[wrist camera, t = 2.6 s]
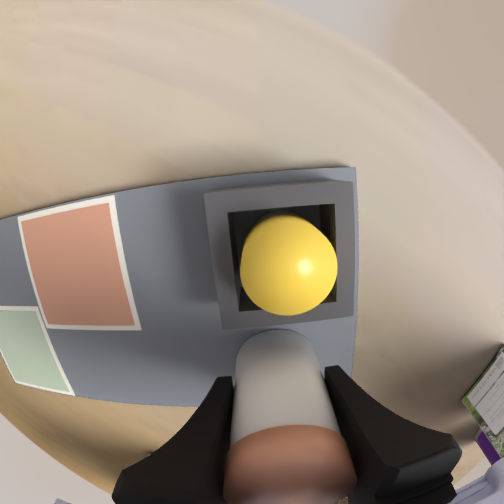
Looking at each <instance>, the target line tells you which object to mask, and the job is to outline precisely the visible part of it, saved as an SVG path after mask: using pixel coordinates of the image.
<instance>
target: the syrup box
mask: <svg viewBox="0 0 504 504" xmlns="http://www.w3.org/2000/svg"><path fill="white" fill-rule="evenodd" d="M462 402H463V404H464V405H465V407H466V408H467V409H468V411H469V412H470V413H471V415H472V416H473V418H474V419H475V420H476V422H477V423H478V425H479V426H480V428H481V429H482V431H483V432H484V433H485V435H486V436H487V438H488V439H489V441H490V442H491V443H492V445H493V446H494V448H495V450H496V451H497V452H498V454H499V456H500V457H501V458H503V457H504V345H503V346H502V348H501V349H500V351H499V352H498V354H497V355H496V356H495V358H494V359H493V361H492V362H491V363H490V365H489V366H488V368H487V369H486V370H485V371H484V373H483V374H482V375H481V377H480V378H479V379H478V381H477V382H476V383H475V384H474V385H473V387H472V388H471V389H470V390H469V392H468V393H467V394H466V395H465V396H464V398H463V399H462Z"/></svg>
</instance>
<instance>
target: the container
mask: <svg viewBox="0 0 504 504" xmlns="http://www.w3.org/2000/svg"><path fill="white" fill-rule="evenodd" d="M475 440H476V442H477V443H478V445H479V446H480V448H481V449H482V451H483V453H484V454H485V456H486V457H487V459H488V460H489V462H490V463H491V465H493V464H494V463H495V462H497V461H498V460H500V459H501V457H500V456H499V454H498V452H497V451H496V450H495V448H494V446H493V445H492V443H491V442H490V441H489V439H488V438H487V436H486V435H485V433H484V432H483V431H482V429H481V428H480V429H479V430H478V431H477V433H476V435H475Z"/></svg>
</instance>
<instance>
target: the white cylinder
mask: <svg viewBox="0 0 504 504" xmlns="http://www.w3.org/2000/svg"><path fill="white" fill-rule="evenodd" d="M356 483H357V476H356V472H355V469H354V466H353V462H352V459H351V455H350V452H349V449H348V445H347V443H346V440H345V439H344V438H343V436H341V432H340V429H339V426H338V422H337V419H336V416H335V412H334V409H333V406H332V403H331V399H330V396H329V393H328V390H327V387H326V383H325V380H324V377H323V374H322V371H321V368H320V364H319V361H318V358H317V355H316V352H315V349H314V347H313V345H312V344H311V343H310V341H309V340H308V339H306V338H305V337H304V336H302V335H301V334H298V333H296V332H293V331H289V330H281V329H278V330H269V331H265V332H262V333H259V334H257V335H255V336H253V337H251V338H250V339H248V340H247V341H246V342H245V343H244V344H243V345H242V347H241V348H240V350H239V352H238V354H237V358H236V369H235V381H234V394H233V407H232V421H231V434H230V447H229V450H228V452H227V455H226V461H225V474H224V486H223V497H224V499H225V501H226V502H227V503H228V504H334V503H336V502H338V501H340V500H341V499H343V498H344V497H345V496H347V495H348V494H349V493H350V492H351V491H352V490H353V489H354V487H355V485H356Z"/></svg>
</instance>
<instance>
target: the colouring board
mask: <svg viewBox="0 0 504 504" xmlns="http://www.w3.org/2000/svg"><path fill="white" fill-rule="evenodd" d="M318 180H342V181H350V182H353V191H354V214H355V291H354V314H353V316H350V317H343V318H336V319H328V320H320V321H312V322H304V323H295V324H285V325H275V326H264V327H253V328H240V329H225V330H222V324H221V318H220V311H219V305H218V298H217V292H216V285H215V278H214V271H213V264H212V257H211V249H210V242H209V234H208V226H207V218H206V210H205V201H204V193H207V192H209V191H211V190H214V189H223V188H232V187H242V186H252V185H263V184H275V183H288V182H302V181H318ZM275 211H289V212H293V213H296V214H299V215H300V216H302V217H304V218H305V219H306V220H308V221H309V222H310V223H311V224H312V225H313V226H314V227H316V228H317V229H318V230H319V231H320V232H321V220H320V205H306V206H293V207H281V208H269V209H258V210H247V211H237V212H233V219H234V228H235V237H236V246H237V255H238V264H239V273H240V266H241V258H242V250H243V242H244V238H245V236H246V233H247V231H248V229H249V228H250V227H251V225H252V224H253V223H254V222H255V221H256V220H257V219H259V218H260V217H262V216H264V215H266V214H268V213H271V212H275ZM358 266H359V232H358V198H357V180H356V167H340V168H317V169H299V170H284V171H271V172H260V173H249V174H239V175H229V176H220V177H212V178H204V179H196V180H189V181H181V182H174V183H168V184H161V185H155V186H149V187H143V188H137V189H131V190H126V191H120V192H115V193H110V194H104V195H99V196H95V197H90V198H85V199H80V200H76V201H71V202H67V203H63V204H58V205H54V206H50V207H46V208H42V209H38V210H34V211H30V212H27V213H23V214H19V215H16V216H12V217H8V218H5V219H2V220H0V354H1V356H2V358H3V360H4V362H5V364H6V366H7V368H8V370H9V372H10V374H11V376H12V378H13V380H14V382H15V383H17V384H21V385H25V386H29V387H33V388H37V389H42V390H46V391H51V392H55V393H60V394H66V395H71V396H77V397H83V398H89V399H96V400H104V401H112V402H121V403H131V404H142V405H158V406H182V407H199V406H200V404H201V403H202V401H203V400H204V398H205V397H206V395H207V394H208V392H209V390H210V388H211V387H212V385H213V383H214V381H215V379H216V378H217V377H222V376H232V381H233V387H234V381H235V369H236V358H237V354H238V352H239V350H240V348H241V347H242V345H243V344H244V343H245V342H246V341H247V340H248V339H250V338H251V337H253V336H255V335H257V334H259V333H262V332H265V331H269V330H278V329H281V330H289V331H293V332H296V333H298V334H301V335H302V336H304V337H305V338H306V339H308V340H309V341H310V343H311V344H312V345H313V347H314V349H315V352H316V355H317V358H318V361H319V364H320V368H321V371H322V374H323V377H324V370H325V367H328V366H334V365H339V366H340V367H341V368H342V369H343V370H344V371H345V372H346V373H347V375H348V376H349V377H350V378H351V375H352V366H353V356H354V345H355V333H356V318H357V299H358ZM240 282H241V276H240ZM241 287H243V285H242V282H241Z"/></svg>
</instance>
